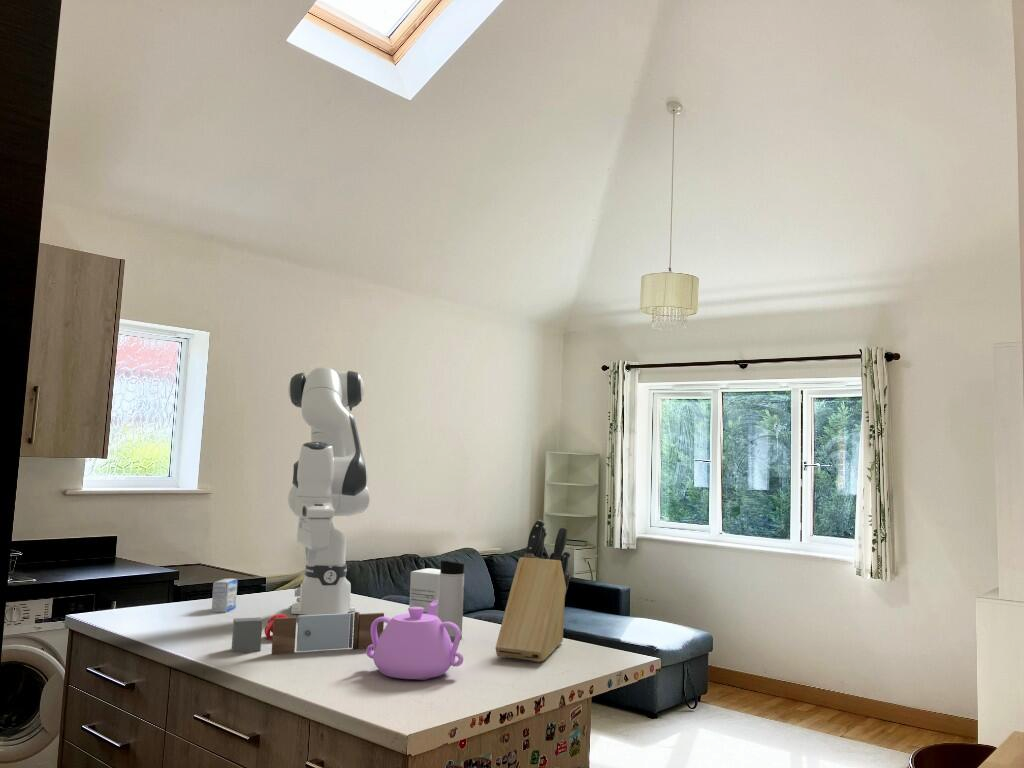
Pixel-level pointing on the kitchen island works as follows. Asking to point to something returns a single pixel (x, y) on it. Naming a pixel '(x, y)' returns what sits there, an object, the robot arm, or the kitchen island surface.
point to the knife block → (536, 600)
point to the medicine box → (224, 595)
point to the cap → (270, 625)
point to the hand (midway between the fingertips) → (310, 565)
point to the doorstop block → (246, 634)
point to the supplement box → (424, 588)
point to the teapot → (414, 645)
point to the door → (324, 631)
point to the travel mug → (451, 595)
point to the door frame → (287, 632)
